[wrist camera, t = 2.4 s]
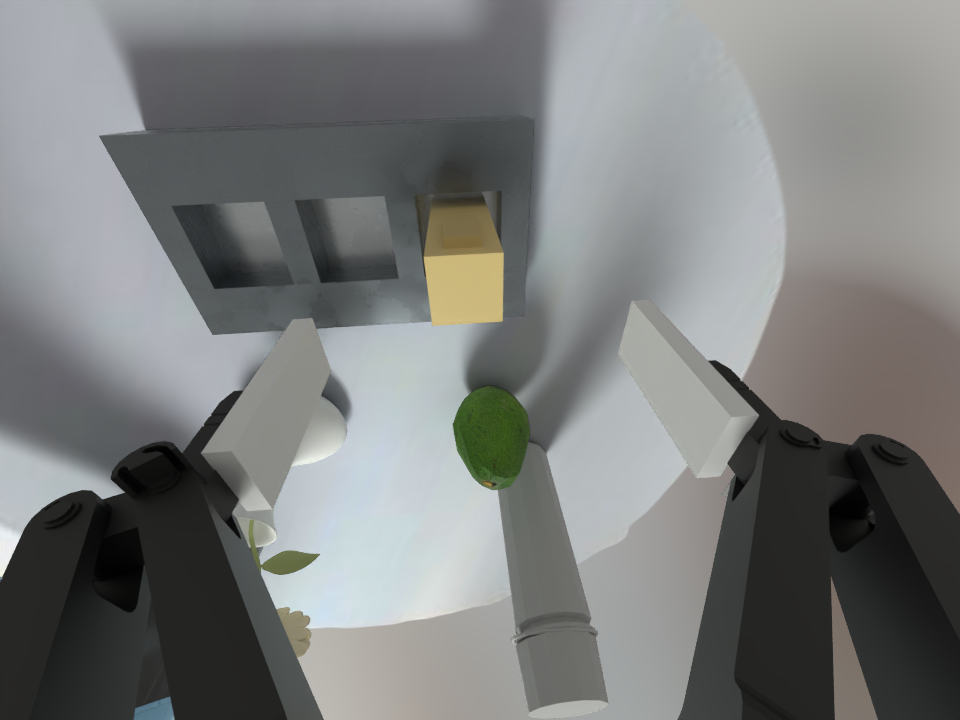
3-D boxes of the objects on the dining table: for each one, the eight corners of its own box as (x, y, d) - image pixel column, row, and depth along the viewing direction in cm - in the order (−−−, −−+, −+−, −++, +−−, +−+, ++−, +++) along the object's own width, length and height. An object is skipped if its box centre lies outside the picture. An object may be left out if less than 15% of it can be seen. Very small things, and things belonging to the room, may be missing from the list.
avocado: (475, 360, 38) (485, 450, 29) (534, 386, 41) (560, 475, 31) (441, 408, 42) (439, 501, 32) (496, 428, 45) (510, 519, 35)
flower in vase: (246, 439, 43) (70, 743, 23) (241, 367, 36) (-8, 699, 16) (358, 455, 46) (290, 733, 26) (371, 391, 40) (294, 693, 20)
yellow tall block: (437, 250, 30) (432, 325, 20) (431, 190, 27) (422, 245, 17) (484, 248, 30) (502, 321, 20) (483, 188, 27) (503, 240, 17)
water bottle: (496, 435, 46) (535, 701, 26) (554, 439, 47) (634, 695, 27) (482, 478, 51) (506, 726, 31) (535, 480, 52) (589, 720, 32)
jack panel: (235, 311, 33) (212, 334, 29) (144, 130, 24) (98, 135, 21) (516, 294, 34) (523, 315, 31) (523, 116, 25) (534, 119, 22)
